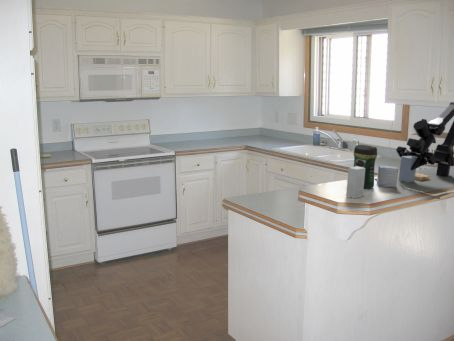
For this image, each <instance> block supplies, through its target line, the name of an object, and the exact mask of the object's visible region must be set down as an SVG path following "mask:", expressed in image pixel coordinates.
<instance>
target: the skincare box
mask: <svg viewBox="0 0 454 341" xmlns="http://www.w3.org/2000/svg"><path fill="white" fill-rule="evenodd" d="M364 178H365V168H363V167H359V166H356V167H354V166H351V167H348V170H347V180H346V183H347V184H346V193H345V196H346V197H347V196H349V197H348V198H351V197H352V198H351V199H357V197H358V198H361V197H363V196H364V189H363V188H364Z"/></svg>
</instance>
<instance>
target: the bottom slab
mask: <svg viewBox="0 0 454 341" xmlns="http://www.w3.org/2000/svg"><path fill="white" fill-rule="evenodd" d="M414 181H419V182H425V181H431V178H429V179H427V180H417V179H415V180H414Z"/></svg>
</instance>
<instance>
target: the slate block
mask: <svg viewBox="0 0 454 341" xmlns="http://www.w3.org/2000/svg"><path fill="white" fill-rule="evenodd" d="M416 160H417V157H412V156H402V157H400V166H399V172H398V181H400V182H404V183H412V182H413V183H414V182H415V181H416V180H415V173H417V168H416V169H414V170H411V167H412V166H413V164H414V163H415V161H416Z"/></svg>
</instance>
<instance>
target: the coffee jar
mask: <svg viewBox="0 0 454 341" xmlns="http://www.w3.org/2000/svg"><path fill="white" fill-rule="evenodd" d="M377 157H378V148H377V146H376V147H375V146H372V145H368V144H367V145H366V144H357V145H355V147H354V150H353V158H354V160H353V167H356V166H359V167H363V168H365V178H364V188H363V190H364V189H365V190H366V189H368V190H370V189H373V188H374V186H375V165H376V164H375V163H376V159H377Z"/></svg>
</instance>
